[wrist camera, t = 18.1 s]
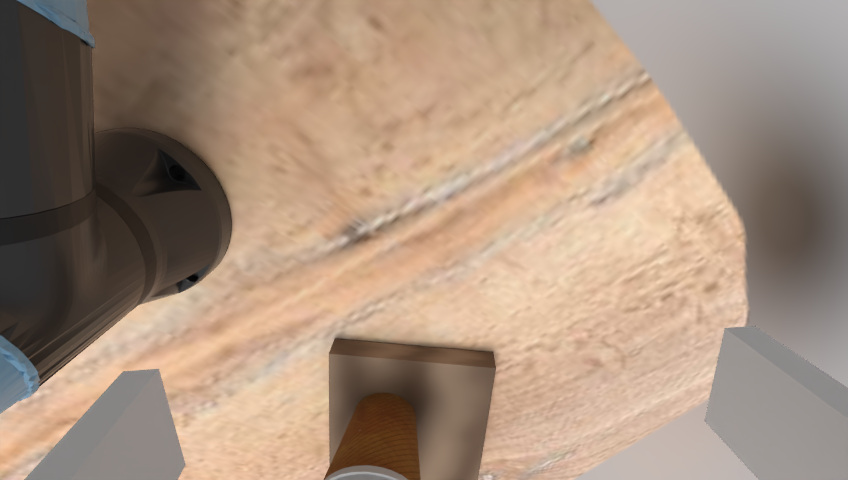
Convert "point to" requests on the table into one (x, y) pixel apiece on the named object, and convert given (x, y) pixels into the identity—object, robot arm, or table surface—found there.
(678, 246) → the table surface
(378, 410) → the disposable coffee cup
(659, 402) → the table surface
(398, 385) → the walnut board
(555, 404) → the table surface
